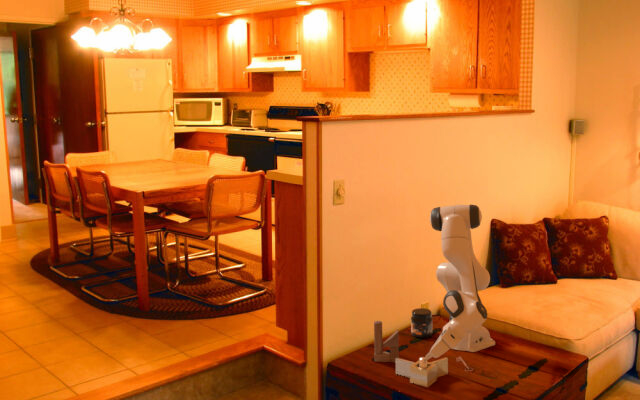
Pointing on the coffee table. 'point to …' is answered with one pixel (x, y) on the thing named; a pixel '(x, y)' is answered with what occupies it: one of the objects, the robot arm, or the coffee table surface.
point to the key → (464, 364)
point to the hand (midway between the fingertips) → (429, 353)
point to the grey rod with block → (385, 345)
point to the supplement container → (421, 323)
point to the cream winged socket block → (422, 371)
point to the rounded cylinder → (423, 362)
